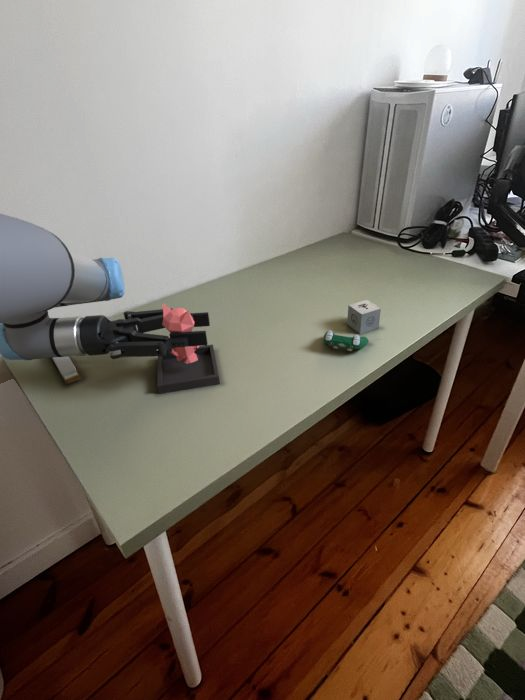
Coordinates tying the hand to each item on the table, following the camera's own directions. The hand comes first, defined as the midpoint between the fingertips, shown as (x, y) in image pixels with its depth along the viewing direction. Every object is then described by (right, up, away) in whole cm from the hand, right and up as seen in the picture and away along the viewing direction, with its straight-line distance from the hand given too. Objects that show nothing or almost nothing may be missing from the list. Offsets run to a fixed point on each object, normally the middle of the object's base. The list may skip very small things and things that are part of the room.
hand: (207, 328), depth 82 cm
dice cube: (+33, +1, +17) cm, 37 cm away
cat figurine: (-5, -6, +3) cm, 8 cm away
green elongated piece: (+28, -4, +10) cm, 30 cm away
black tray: (-5, -8, +5) cm, 11 cm away
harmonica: (-31, -8, +9) cm, 34 cm away
